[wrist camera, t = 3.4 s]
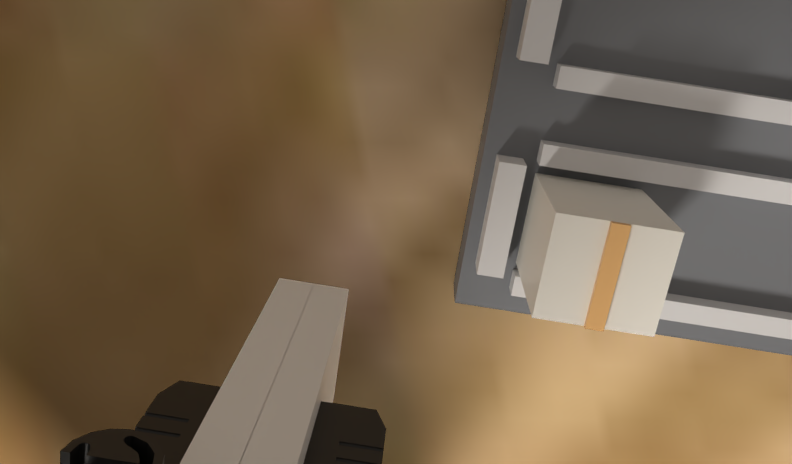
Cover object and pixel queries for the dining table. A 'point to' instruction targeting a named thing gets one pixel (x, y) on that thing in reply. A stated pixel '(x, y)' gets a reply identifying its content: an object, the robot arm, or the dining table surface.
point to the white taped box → (596, 255)
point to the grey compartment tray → (649, 149)
